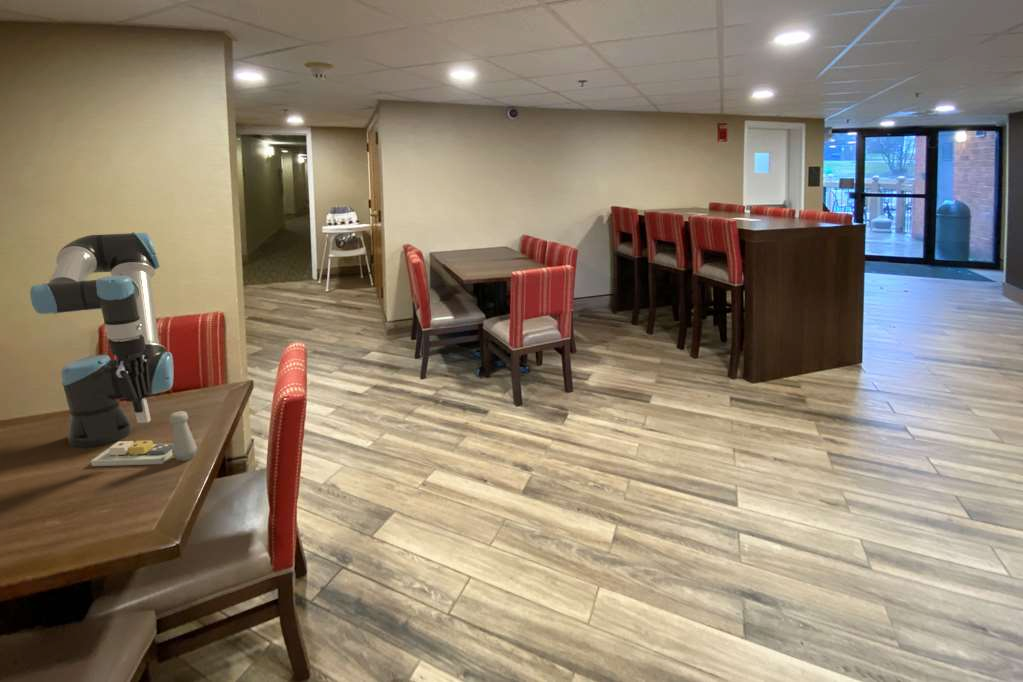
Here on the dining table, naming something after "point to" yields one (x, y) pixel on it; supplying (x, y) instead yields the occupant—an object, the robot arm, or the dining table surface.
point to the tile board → (129, 459)
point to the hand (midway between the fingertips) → (144, 421)
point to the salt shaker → (182, 437)
